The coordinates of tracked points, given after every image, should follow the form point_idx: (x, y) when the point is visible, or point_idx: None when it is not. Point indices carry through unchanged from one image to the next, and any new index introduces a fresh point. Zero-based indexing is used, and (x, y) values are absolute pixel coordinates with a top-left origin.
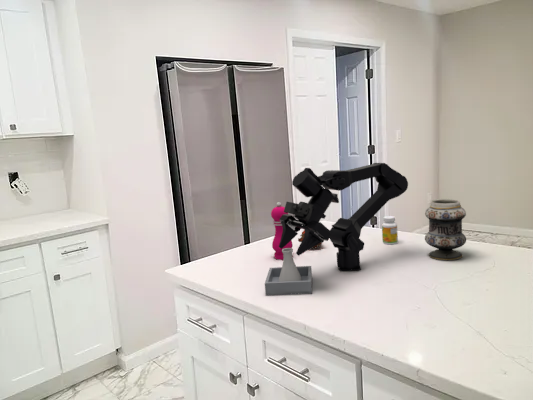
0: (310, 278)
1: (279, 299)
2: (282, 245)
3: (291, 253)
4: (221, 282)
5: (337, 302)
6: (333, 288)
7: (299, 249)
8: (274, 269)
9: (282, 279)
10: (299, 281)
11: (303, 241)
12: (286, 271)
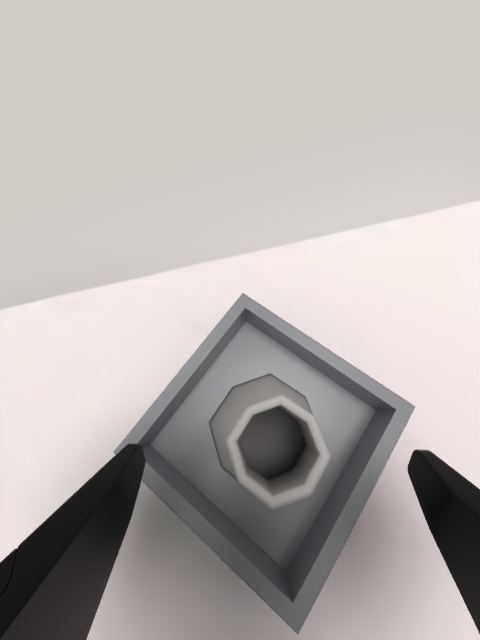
0: (142, 476)
1: (186, 329)
2: (426, 490)
3: (244, 462)
4: (453, 250)
5: (13, 470)
6: None
7: (95, 475)
8: (388, 420)
9: (254, 384)
10: (153, 410)
11: (5, 574)
12: (241, 400)
